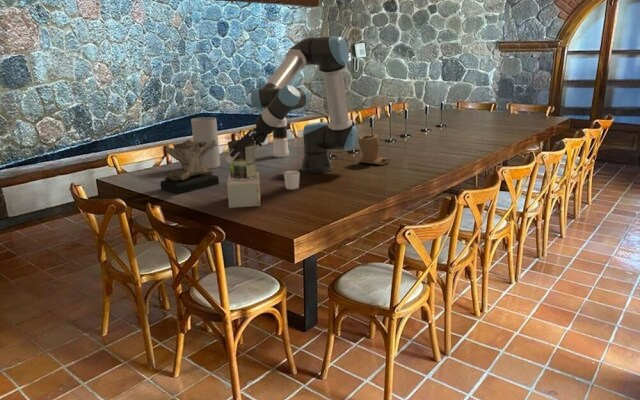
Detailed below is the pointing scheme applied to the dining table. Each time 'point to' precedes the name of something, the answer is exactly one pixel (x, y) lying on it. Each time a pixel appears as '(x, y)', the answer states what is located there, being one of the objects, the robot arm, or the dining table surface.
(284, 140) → the vodka
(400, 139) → the dining table surface
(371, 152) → the stone cup
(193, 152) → the coral
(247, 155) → the coffee can
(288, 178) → the shot glass
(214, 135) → the cylinder vase
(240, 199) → the cabinet
